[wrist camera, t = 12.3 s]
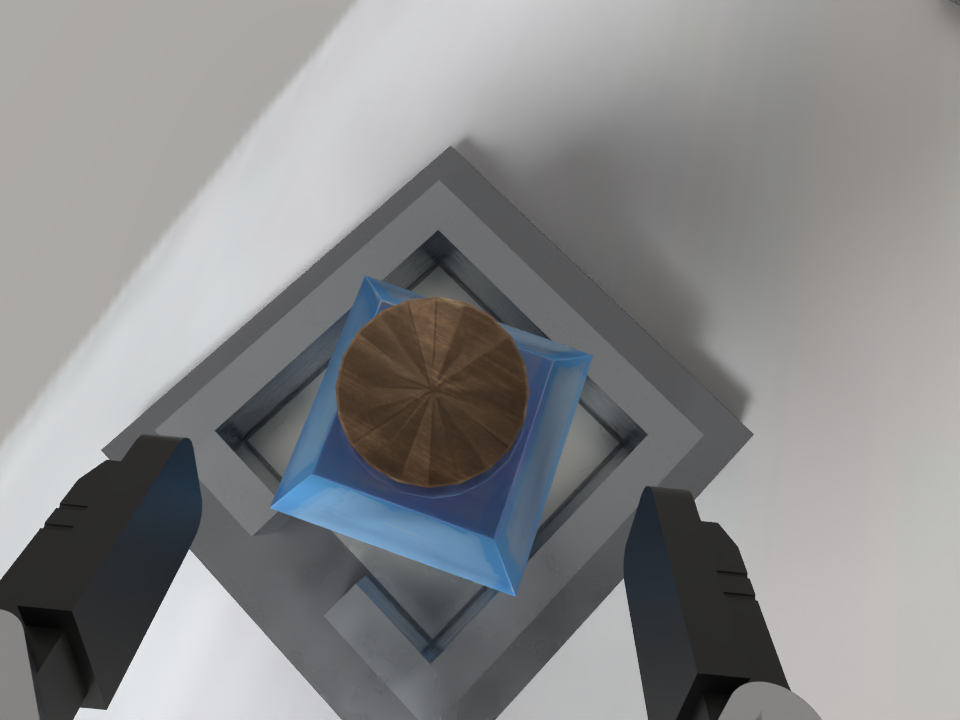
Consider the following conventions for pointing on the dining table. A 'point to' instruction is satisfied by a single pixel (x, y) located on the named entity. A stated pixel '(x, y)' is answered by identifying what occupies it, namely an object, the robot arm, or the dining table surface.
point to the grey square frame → (392, 577)
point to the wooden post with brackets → (956, 1)
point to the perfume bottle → (435, 434)
